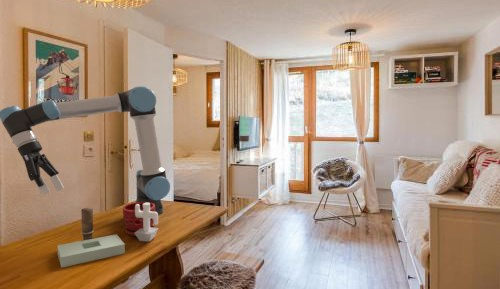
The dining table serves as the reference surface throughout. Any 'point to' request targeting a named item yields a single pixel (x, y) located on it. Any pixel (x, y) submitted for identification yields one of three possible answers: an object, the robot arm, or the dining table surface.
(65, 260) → the board
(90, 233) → the peg
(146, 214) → the figurine
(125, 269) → the dining table surface
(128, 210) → the plant pot
